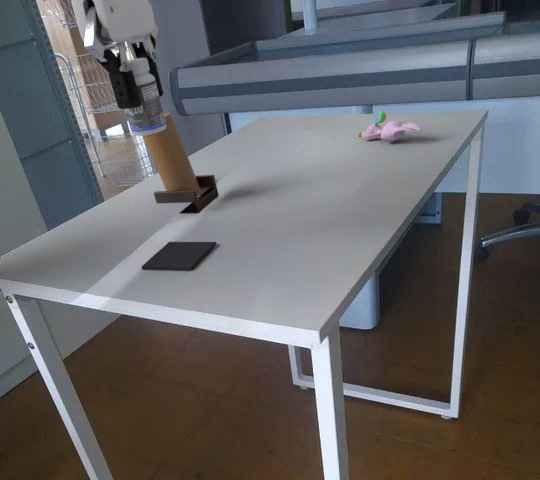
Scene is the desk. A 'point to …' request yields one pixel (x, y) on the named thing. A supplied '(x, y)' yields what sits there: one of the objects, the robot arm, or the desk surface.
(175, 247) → the coaster
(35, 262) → the desk surface
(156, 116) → the pill bottle
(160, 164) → the paper roll
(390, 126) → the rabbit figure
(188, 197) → the roll stand
